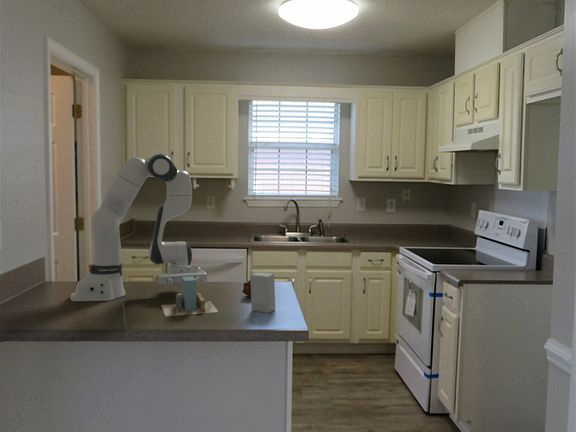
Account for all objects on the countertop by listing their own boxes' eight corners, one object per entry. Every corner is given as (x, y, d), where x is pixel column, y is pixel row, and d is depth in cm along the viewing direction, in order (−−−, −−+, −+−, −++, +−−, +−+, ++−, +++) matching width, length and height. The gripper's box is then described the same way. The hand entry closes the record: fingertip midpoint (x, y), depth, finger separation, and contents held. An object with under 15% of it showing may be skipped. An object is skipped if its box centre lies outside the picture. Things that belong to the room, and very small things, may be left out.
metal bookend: (179, 312, 190) (179, 301, 190) (175, 306, 200) (175, 295, 199) (181, 312, 191) (181, 301, 190) (177, 305, 200) (177, 294, 200)
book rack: (165, 318, 186) (165, 304, 185) (161, 307, 201) (161, 294, 200) (218, 314, 193) (218, 300, 192) (210, 303, 208) (210, 290, 207)
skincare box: (275, 310, 200) (275, 273, 198) (268, 313, 194) (268, 276, 193) (257, 307, 203) (257, 271, 202) (249, 310, 198) (250, 274, 197)
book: (184, 311, 193) (184, 280, 192) (182, 306, 199) (181, 277, 198) (196, 310, 194) (196, 280, 193) (193, 305, 201) (193, 276, 200)
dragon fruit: (247, 304, 213) (253, 301, 225) (263, 293, 213) (268, 290, 225) (236, 287, 215) (243, 285, 226) (253, 276, 214) (258, 274, 226)
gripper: (156, 269, 214) (159, 275, 201) (203, 266, 221) (209, 272, 208) (156, 283, 215) (159, 291, 202) (203, 280, 222) (209, 287, 209)
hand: (185, 281), depth 205 cm, fingers open, 8 cm apart
